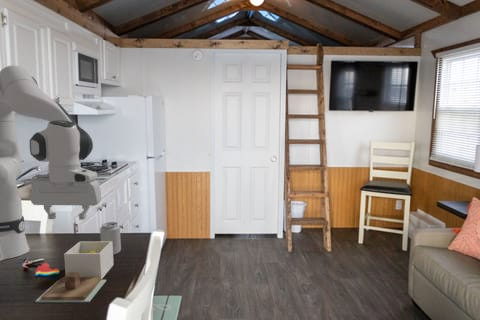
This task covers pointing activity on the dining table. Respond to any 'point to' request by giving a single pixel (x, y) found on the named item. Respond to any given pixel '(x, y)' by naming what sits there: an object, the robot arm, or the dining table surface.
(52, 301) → the mat
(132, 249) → the dining table surface
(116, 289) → the dining table surface
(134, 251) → the dining table surface
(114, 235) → the can
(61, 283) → the lid
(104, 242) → the white open square box
